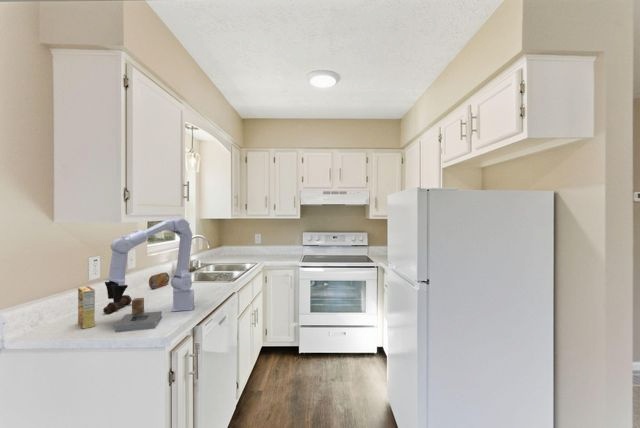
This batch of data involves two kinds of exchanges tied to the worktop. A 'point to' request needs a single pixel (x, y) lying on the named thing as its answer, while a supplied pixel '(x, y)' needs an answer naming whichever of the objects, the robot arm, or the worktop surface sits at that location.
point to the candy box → (86, 307)
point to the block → (137, 305)
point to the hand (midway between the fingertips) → (113, 300)
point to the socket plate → (138, 321)
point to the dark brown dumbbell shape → (117, 304)
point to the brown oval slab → (158, 280)
